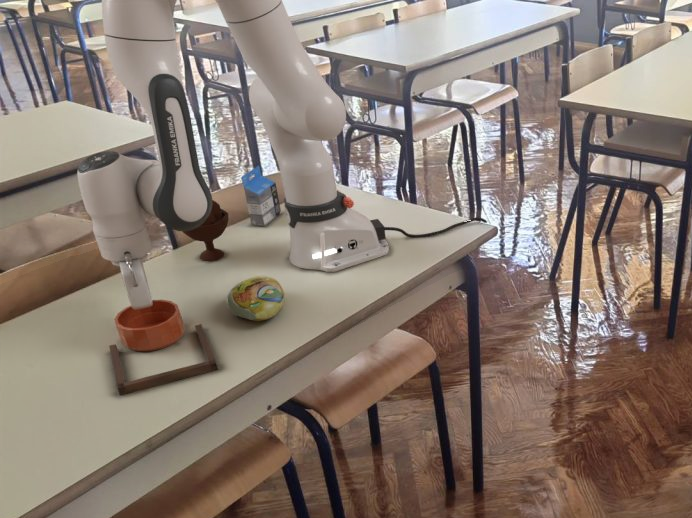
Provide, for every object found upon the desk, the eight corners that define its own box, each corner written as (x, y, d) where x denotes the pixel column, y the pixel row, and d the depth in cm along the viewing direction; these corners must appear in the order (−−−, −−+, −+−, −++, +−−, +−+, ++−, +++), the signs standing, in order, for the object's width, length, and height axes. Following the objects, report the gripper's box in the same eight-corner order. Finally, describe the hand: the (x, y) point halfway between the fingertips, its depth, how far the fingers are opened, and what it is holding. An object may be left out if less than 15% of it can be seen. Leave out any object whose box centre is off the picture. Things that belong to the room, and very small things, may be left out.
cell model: (286, 277, 159) (284, 284, 145) (284, 314, 161) (281, 324, 147) (232, 272, 157) (224, 278, 142) (230, 309, 158) (222, 319, 144)
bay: (203, 330, 147) (201, 323, 146) (218, 369, 136) (216, 362, 135) (111, 353, 141) (108, 345, 140) (119, 395, 130) (117, 388, 129)
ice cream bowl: (223, 268, 168) (206, 204, 160) (177, 264, 170) (159, 200, 162) (245, 248, 177) (231, 186, 168) (202, 244, 179) (186, 183, 170)
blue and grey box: (265, 227, 187) (255, 178, 179) (250, 225, 187) (240, 177, 180) (282, 213, 194) (273, 166, 186) (268, 212, 194) (258, 164, 187)
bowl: (180, 316, 151) (173, 294, 148) (189, 343, 143) (183, 320, 140) (119, 330, 147) (111, 308, 144) (126, 358, 139) (118, 335, 136)
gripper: (148, 261, 134) (168, 328, 142) (137, 220, 149) (156, 283, 157) (109, 268, 132) (132, 336, 140) (102, 226, 146) (123, 289, 154)
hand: (145, 308), depth 148 cm, fingers closed
